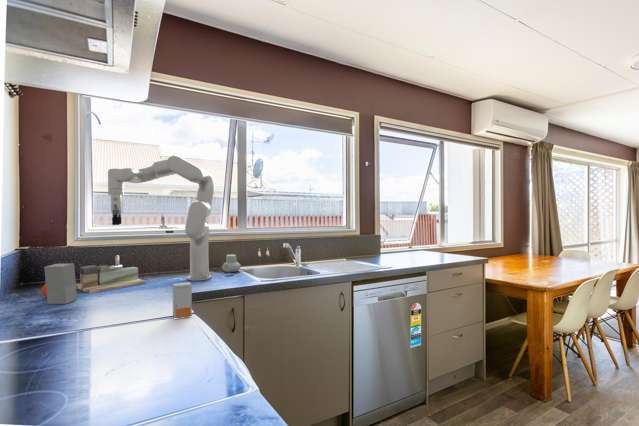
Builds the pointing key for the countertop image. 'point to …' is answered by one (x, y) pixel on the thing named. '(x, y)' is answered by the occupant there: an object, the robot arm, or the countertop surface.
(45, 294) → the clementine
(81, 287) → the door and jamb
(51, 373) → the countertop surface
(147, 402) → the countertop surface
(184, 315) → the skincare box
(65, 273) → the skincare box
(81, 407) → the countertop surface
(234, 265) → the air freshener
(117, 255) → the bolt
